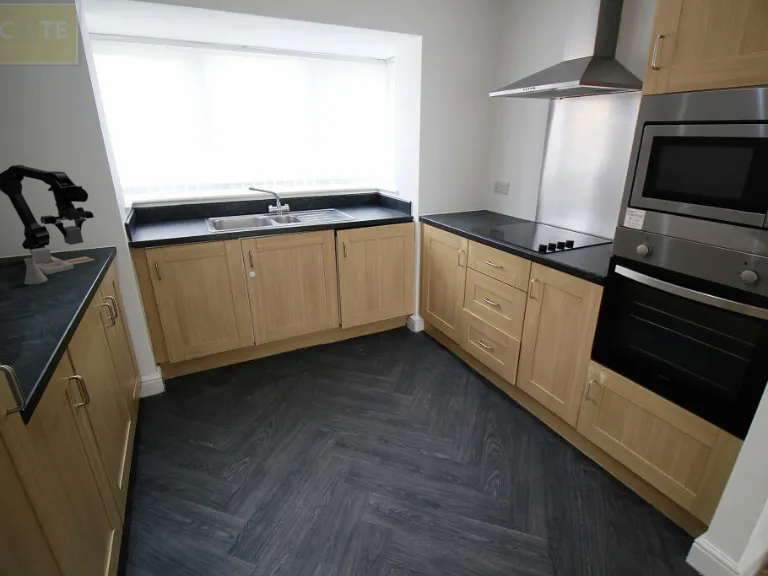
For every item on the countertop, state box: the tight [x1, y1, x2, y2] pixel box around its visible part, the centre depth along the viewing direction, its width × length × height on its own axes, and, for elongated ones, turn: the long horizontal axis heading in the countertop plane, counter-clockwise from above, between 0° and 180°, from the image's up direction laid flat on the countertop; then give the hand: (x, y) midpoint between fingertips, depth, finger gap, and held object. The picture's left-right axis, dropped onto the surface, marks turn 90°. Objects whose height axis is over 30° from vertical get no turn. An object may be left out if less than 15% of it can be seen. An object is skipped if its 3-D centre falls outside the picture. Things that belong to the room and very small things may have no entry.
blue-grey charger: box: [29, 247, 53, 263], centre depth 187 cm, size 6×5×7 cm
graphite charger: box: [62, 225, 84, 246], centre depth 190 cm, size 6×5×7 cm
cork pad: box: [64, 256, 96, 265], centre depth 195 cm, size 10×9×1 cm
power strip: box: [24, 255, 75, 275], centre depth 186 cm, size 27×10×3 cm, turn 56°
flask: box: [23, 257, 49, 285], centre depth 165 cm, size 7×7×10 cm
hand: (72, 236), depth 190 cm, fingers closed on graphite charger, 5 cm apart
